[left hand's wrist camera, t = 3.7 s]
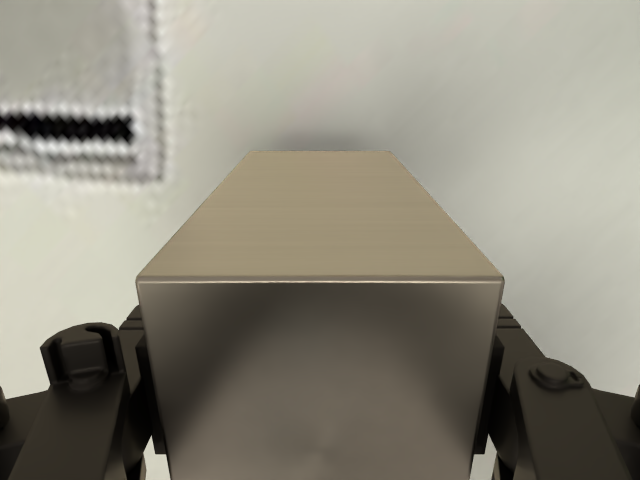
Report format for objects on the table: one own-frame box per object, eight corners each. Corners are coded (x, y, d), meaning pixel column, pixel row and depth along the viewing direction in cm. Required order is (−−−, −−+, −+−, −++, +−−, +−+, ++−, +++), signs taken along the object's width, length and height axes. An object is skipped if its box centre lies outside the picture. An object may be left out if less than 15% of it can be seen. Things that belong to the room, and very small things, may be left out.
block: (381, 303, 19) (454, 574, 9) (258, 303, 19) (185, 574, 9) (390, 150, 16) (508, 277, 6) (248, 150, 16) (131, 277, 6)
